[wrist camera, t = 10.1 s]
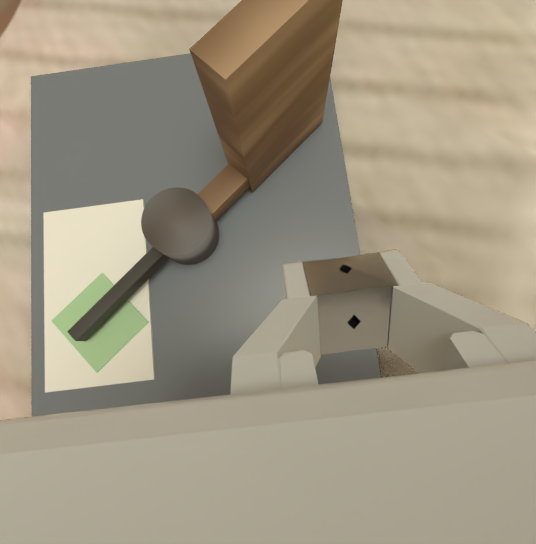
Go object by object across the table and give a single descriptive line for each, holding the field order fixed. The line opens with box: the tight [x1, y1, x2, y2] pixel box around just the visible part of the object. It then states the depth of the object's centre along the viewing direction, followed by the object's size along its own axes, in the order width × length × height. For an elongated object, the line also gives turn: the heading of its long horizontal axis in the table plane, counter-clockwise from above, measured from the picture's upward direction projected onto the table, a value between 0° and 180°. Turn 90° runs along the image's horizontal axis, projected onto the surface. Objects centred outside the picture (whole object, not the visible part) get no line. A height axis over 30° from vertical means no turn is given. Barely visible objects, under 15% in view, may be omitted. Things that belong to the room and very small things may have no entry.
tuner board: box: [31, 53, 381, 417], centre depth 25 cm, size 28×22×1 cm
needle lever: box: [67, 0, 342, 341], centre depth 19 cm, size 4×21×11 cm, turn 136°
